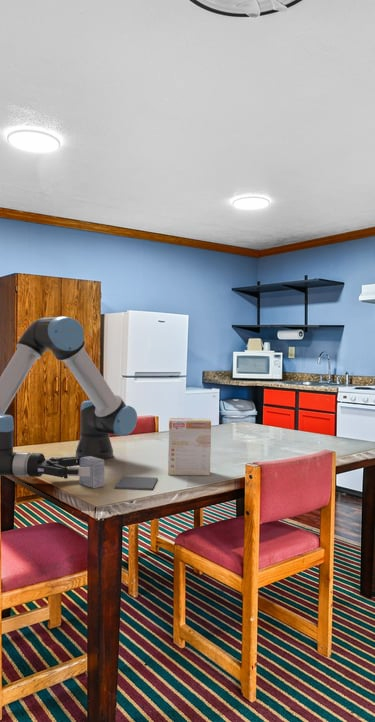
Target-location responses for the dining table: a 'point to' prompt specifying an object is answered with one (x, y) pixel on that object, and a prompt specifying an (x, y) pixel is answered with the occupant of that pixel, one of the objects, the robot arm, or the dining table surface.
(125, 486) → the mat
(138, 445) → the dining table surface
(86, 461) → the medicine box
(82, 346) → the robot arm
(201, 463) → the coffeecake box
